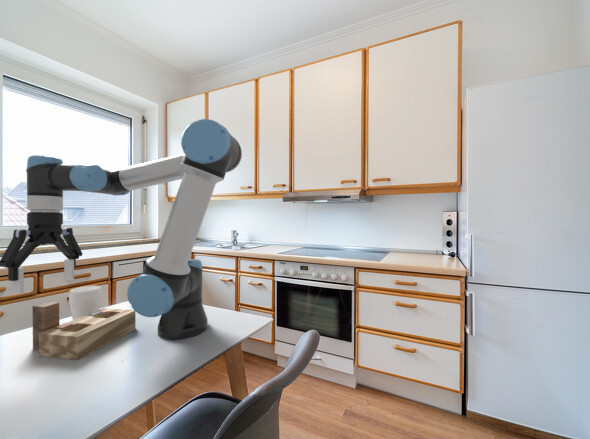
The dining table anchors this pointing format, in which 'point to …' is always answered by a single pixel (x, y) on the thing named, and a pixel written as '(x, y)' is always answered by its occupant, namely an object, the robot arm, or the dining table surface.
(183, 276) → the robot arm
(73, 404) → the dining table surface
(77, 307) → the cup
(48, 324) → the plug
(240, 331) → the dining table surface
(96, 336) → the box
